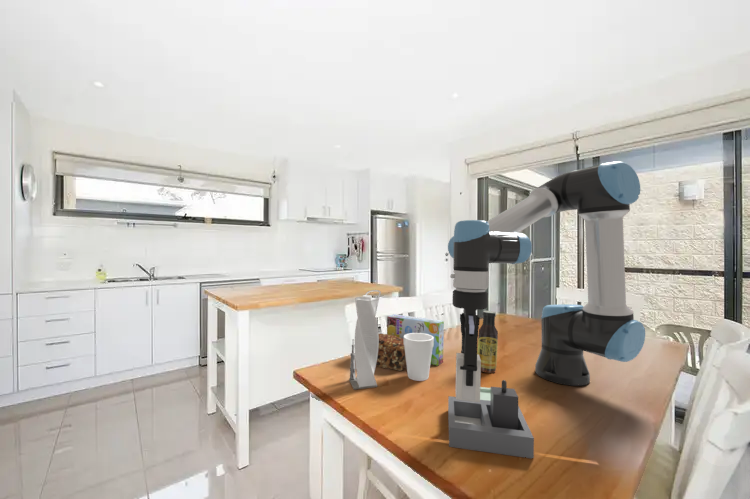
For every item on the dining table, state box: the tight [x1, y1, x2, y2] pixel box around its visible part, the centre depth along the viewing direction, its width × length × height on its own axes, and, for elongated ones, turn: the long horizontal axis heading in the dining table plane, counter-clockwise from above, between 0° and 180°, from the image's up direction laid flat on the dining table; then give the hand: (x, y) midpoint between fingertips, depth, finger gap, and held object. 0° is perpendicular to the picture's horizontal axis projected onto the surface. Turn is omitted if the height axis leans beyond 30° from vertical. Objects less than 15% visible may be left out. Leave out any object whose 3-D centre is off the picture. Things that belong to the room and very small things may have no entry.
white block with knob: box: [455, 352, 482, 402], centre depth 70 cm, size 5×4×12 cm
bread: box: [376, 333, 407, 372], centre depth 112 cm, size 19×11×10 cm, turn 61°
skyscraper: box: [348, 289, 382, 390], centre depth 94 cm, size 8×8×28 cm
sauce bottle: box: [477, 310, 499, 374], centre depth 106 cm, size 7×6×20 cm
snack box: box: [386, 313, 445, 366], centre depth 117 cm, size 21×6×15 cm, turn 58°
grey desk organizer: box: [447, 379, 535, 459], centre depth 70 cm, size 16×14×12 cm
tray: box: [480, 386, 491, 401], centre depth 84 cm, size 10×13×1 cm
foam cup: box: [404, 333, 434, 382], centre depth 99 cm, size 10×9×13 cm
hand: (467, 394), depth 70 cm, fingers closed on white block with knob, 4 cm apart
